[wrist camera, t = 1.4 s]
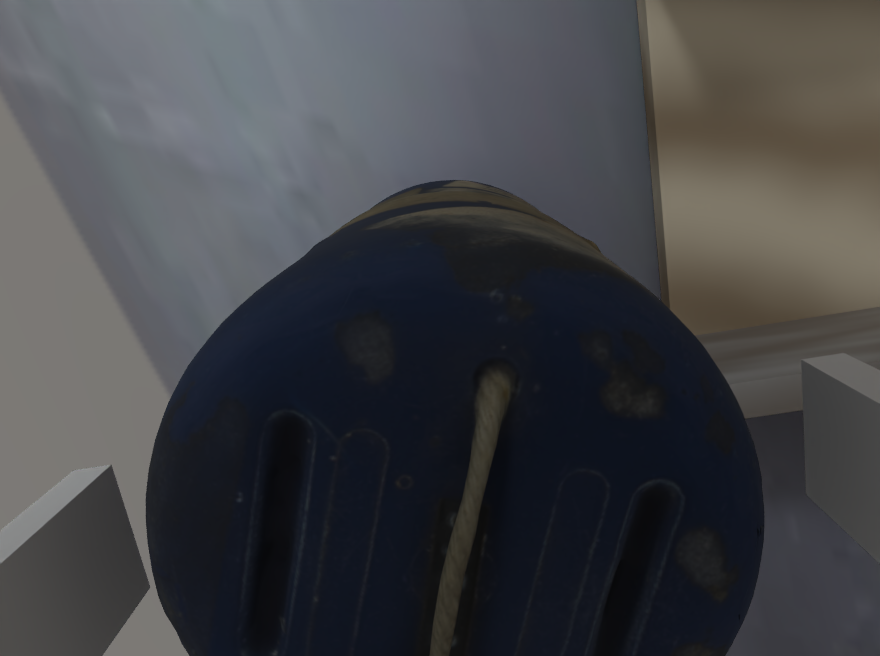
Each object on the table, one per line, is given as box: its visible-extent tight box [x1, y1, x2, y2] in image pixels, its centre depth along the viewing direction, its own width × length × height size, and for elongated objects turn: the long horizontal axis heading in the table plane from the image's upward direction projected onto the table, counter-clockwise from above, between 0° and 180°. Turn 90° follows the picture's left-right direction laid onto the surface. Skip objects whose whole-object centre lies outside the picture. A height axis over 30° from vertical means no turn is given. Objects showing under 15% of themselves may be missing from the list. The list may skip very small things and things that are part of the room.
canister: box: [146, 180, 764, 656], centre depth 17 cm, size 10×10×18 cm
